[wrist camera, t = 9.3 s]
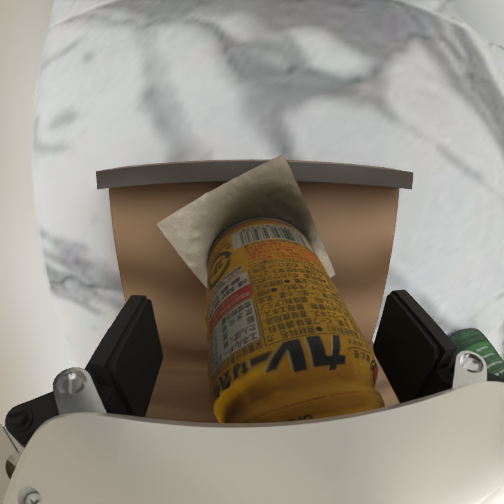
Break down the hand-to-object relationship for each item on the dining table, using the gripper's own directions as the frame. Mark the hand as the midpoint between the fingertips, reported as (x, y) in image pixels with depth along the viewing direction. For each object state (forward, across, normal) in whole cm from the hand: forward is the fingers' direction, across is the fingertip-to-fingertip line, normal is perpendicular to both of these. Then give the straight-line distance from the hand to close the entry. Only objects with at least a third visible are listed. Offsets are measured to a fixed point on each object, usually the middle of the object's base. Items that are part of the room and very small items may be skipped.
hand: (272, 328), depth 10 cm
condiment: (+6, 0, -1) cm, 6 cm away
